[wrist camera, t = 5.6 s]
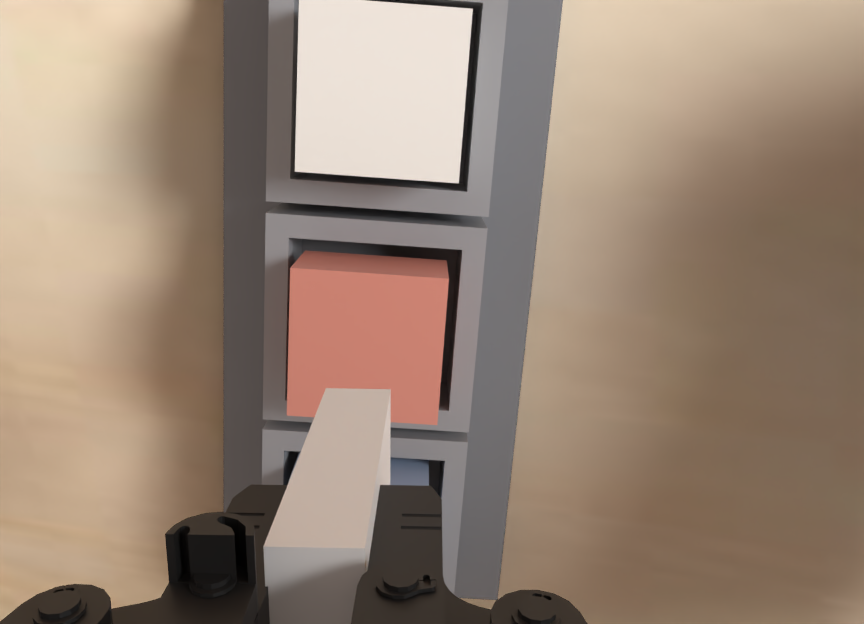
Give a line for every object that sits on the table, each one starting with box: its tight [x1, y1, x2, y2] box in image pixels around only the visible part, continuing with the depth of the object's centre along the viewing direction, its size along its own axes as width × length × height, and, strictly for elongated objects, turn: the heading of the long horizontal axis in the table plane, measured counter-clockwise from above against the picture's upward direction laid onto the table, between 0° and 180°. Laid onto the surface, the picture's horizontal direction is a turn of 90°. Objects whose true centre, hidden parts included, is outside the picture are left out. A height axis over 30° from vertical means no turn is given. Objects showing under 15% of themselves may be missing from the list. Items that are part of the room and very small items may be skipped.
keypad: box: [224, 0, 563, 600], centre depth 29 cm, size 26×12×4 cm, turn 176°
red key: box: [287, 250, 449, 425], centre depth 26 cm, size 5×5×3 cm
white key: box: [295, 0, 473, 183], centre depth 24 cm, size 5×5×3 cm
